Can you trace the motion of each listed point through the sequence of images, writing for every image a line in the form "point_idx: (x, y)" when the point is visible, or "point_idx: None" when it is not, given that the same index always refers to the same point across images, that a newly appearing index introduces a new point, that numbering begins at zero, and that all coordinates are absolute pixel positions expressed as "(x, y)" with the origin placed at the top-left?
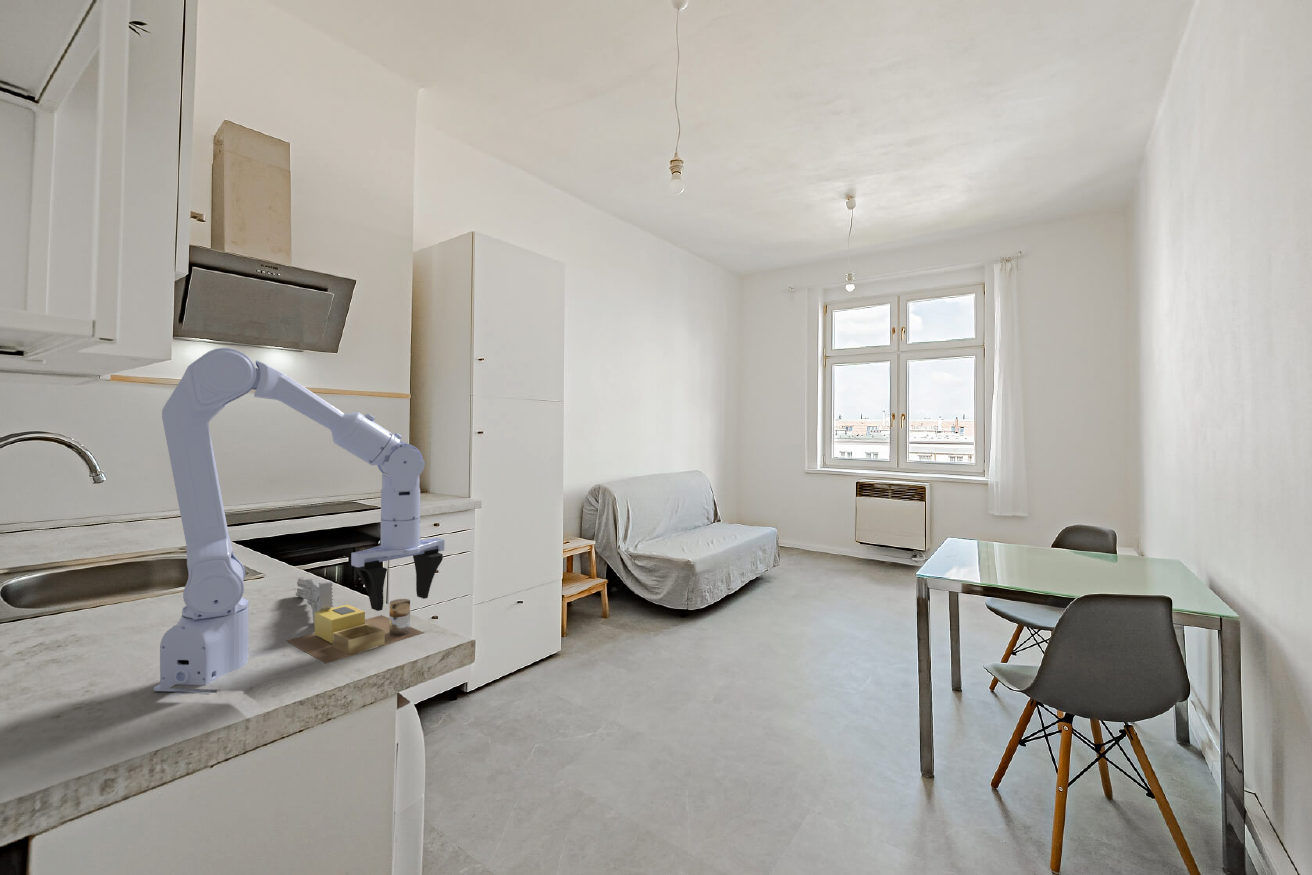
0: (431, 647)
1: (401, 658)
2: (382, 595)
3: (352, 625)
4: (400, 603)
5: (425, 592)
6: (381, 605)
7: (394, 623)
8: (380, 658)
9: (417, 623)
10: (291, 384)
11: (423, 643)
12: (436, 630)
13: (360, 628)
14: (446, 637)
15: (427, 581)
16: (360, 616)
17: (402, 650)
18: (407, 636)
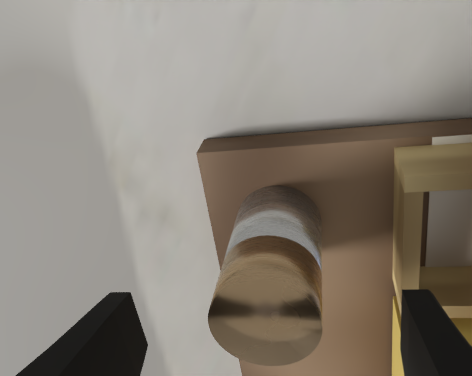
0: (214, 35)
1: (378, 3)
2: (437, 353)
3: (462, 334)
4: (276, 300)
5: (109, 312)
6: (420, 304)
7: (312, 236)
8: (442, 75)
9: (160, 300)
10: None
11: (222, 106)
12: (127, 198)
13: (441, 298)
14: (118, 101)
15: (64, 364)
16: None
17: (325, 95)
18: (274, 160)
